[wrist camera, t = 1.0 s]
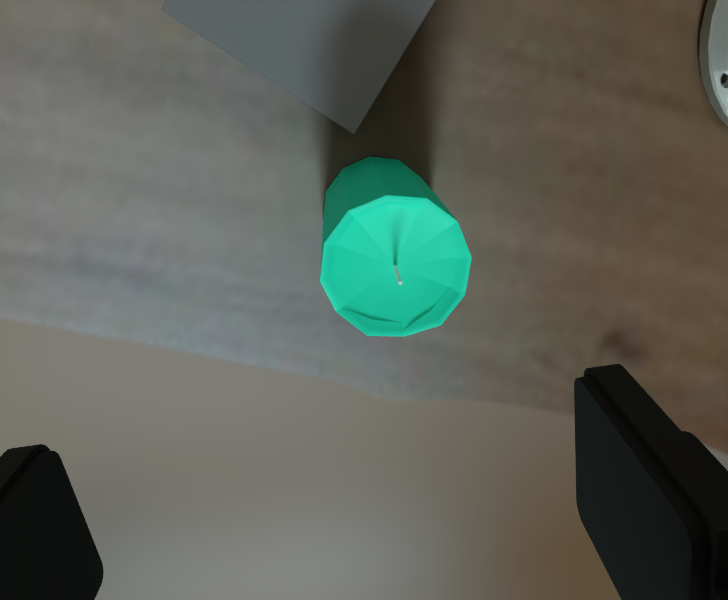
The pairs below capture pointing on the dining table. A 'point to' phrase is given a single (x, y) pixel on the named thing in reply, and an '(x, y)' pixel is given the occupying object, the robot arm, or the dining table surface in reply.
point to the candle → (390, 250)
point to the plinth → (312, 45)
